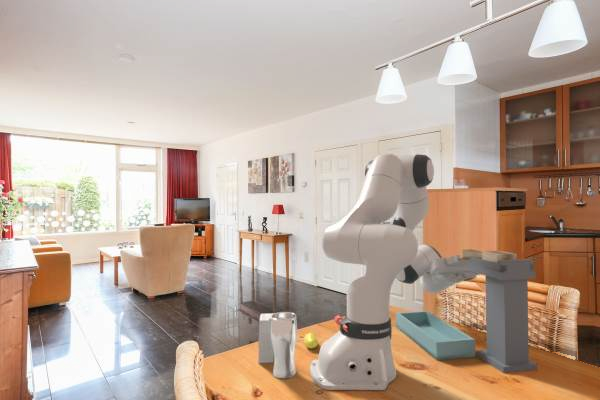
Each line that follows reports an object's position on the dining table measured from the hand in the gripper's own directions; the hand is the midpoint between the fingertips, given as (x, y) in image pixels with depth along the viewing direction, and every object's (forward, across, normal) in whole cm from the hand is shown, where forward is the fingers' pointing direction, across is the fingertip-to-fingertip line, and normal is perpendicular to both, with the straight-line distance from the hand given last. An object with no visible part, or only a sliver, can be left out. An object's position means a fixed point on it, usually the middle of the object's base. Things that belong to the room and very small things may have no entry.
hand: (471, 256), depth 107 cm
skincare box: (-14, -65, +24) cm, 70 cm away
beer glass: (-7, -61, +28) cm, 67 cm away
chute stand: (-4, 0, +29) cm, 29 cm away
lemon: (-20, -51, +21) cm, 58 cm away
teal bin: (-17, -12, +21) cm, 30 cm away
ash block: (+5, 0, +4) cm, 6 cm away
